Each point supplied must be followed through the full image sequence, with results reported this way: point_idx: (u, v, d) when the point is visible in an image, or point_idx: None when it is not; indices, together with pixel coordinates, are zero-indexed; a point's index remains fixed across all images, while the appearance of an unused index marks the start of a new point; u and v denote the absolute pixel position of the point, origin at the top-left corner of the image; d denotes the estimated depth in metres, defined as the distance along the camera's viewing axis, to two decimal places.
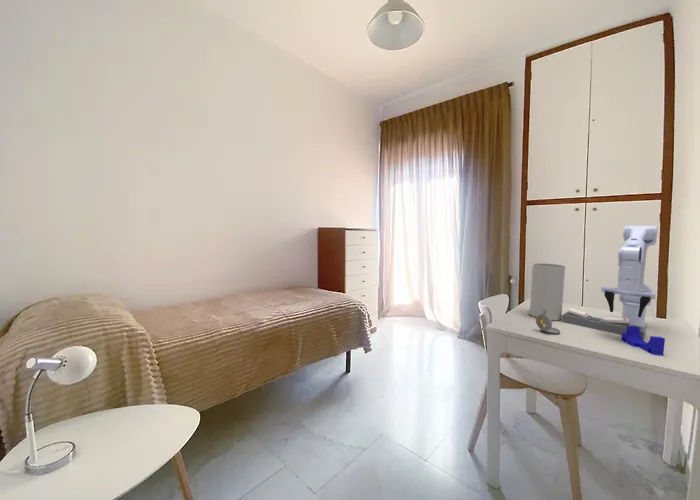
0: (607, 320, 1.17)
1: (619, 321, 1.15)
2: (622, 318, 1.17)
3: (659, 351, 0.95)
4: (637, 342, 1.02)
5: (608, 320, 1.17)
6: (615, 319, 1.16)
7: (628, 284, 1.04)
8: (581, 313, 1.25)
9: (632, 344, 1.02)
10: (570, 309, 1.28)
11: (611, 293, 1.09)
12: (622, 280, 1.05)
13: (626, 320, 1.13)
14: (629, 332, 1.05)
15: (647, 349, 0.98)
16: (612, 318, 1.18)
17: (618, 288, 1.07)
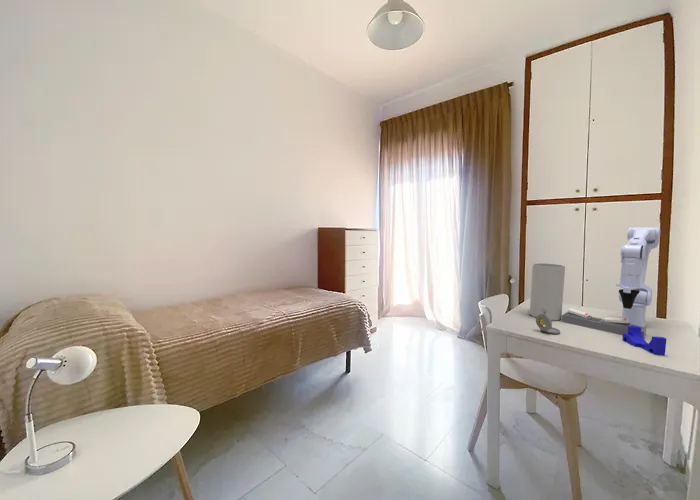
0: (607, 320, 1.17)
1: (619, 321, 1.15)
2: (622, 318, 1.17)
3: (660, 351, 0.95)
4: (638, 342, 1.02)
5: (608, 320, 1.17)
6: (615, 319, 1.16)
7: (620, 278, 1.15)
8: (581, 313, 1.25)
9: (633, 344, 1.02)
10: (570, 309, 1.28)
11: None
12: None
13: (626, 320, 1.13)
14: (630, 332, 1.05)
15: (649, 349, 0.97)
16: (612, 318, 1.18)
17: None
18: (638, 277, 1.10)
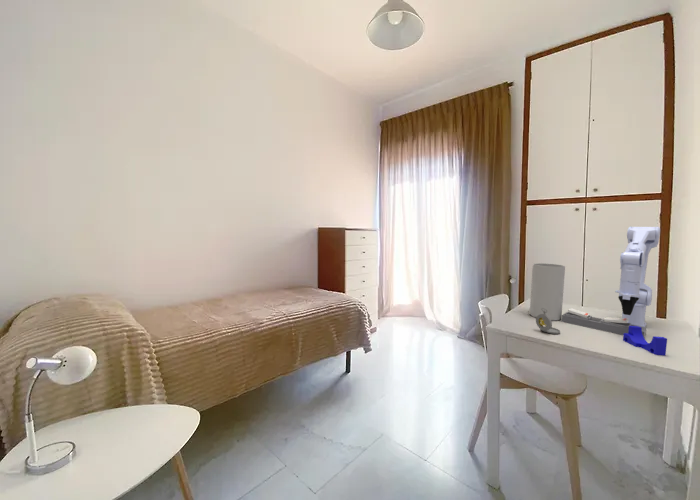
0: (607, 320, 1.17)
1: (619, 321, 1.15)
2: (622, 318, 1.17)
3: (661, 351, 0.95)
4: (639, 342, 1.02)
5: (608, 320, 1.17)
6: (615, 319, 1.16)
7: (620, 284, 1.15)
8: (581, 313, 1.25)
9: (634, 344, 1.02)
10: (570, 309, 1.28)
11: None
12: None
13: (626, 320, 1.13)
14: (631, 332, 1.05)
15: (649, 349, 0.97)
16: (612, 318, 1.18)
17: None
18: (637, 284, 1.10)
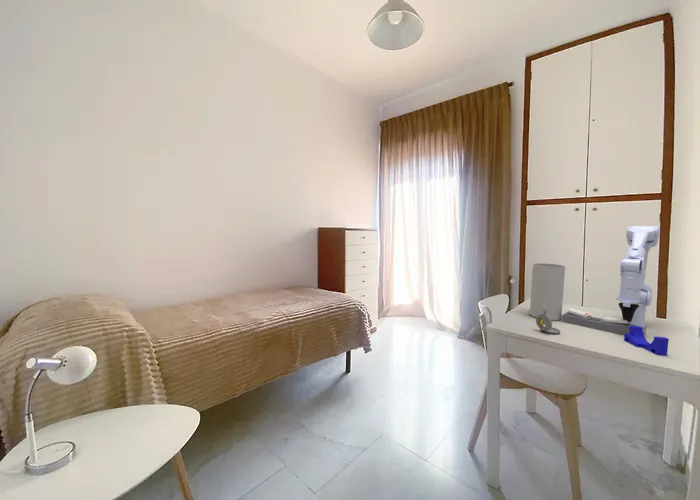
0: (607, 320, 1.17)
1: (619, 321, 1.14)
2: (622, 318, 1.17)
3: (662, 351, 0.95)
4: (640, 342, 1.02)
5: (608, 320, 1.17)
6: (615, 319, 1.16)
7: (620, 291, 1.15)
8: (581, 313, 1.25)
9: (635, 345, 1.02)
10: (570, 309, 1.28)
11: None
12: None
13: (626, 320, 1.13)
14: (632, 332, 1.05)
15: (651, 349, 0.97)
16: (612, 318, 1.18)
17: None
18: (637, 291, 1.10)
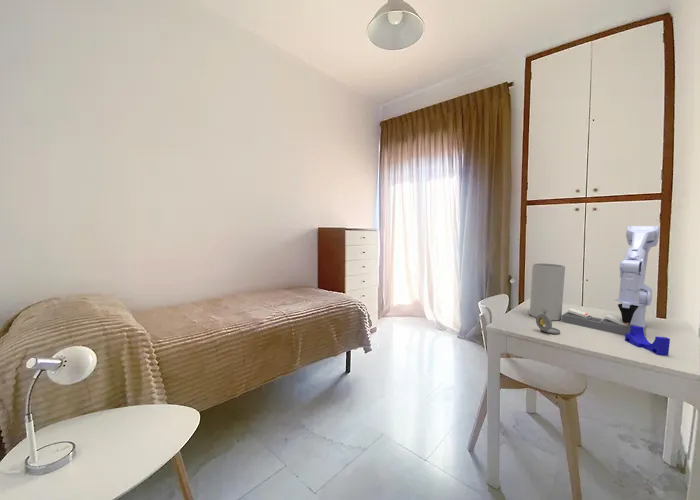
0: (608, 318, 1.17)
1: (620, 323, 1.14)
2: None
3: (664, 351, 0.95)
4: (641, 342, 1.01)
5: (609, 318, 1.17)
6: (617, 319, 1.16)
7: (619, 292, 1.15)
8: (581, 313, 1.25)
9: (636, 345, 1.02)
10: (570, 309, 1.28)
11: None
12: None
13: (627, 324, 1.13)
14: (633, 332, 1.05)
15: (652, 349, 0.97)
16: (614, 317, 1.18)
17: None
18: (637, 292, 1.11)
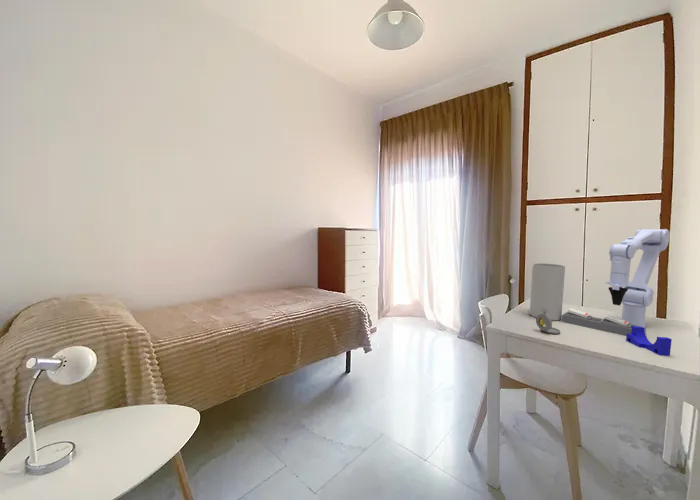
0: (608, 318, 1.17)
1: (620, 322, 1.14)
2: (623, 320, 1.16)
3: (665, 351, 0.94)
4: (643, 343, 1.01)
5: (609, 318, 1.17)
6: (616, 319, 1.16)
7: (610, 276, 1.19)
8: (581, 313, 1.25)
9: (637, 345, 1.02)
10: (570, 309, 1.28)
11: None
12: None
13: (627, 324, 1.13)
14: (634, 332, 1.05)
15: (653, 350, 0.97)
16: (613, 317, 1.18)
17: None
18: (626, 275, 1.15)
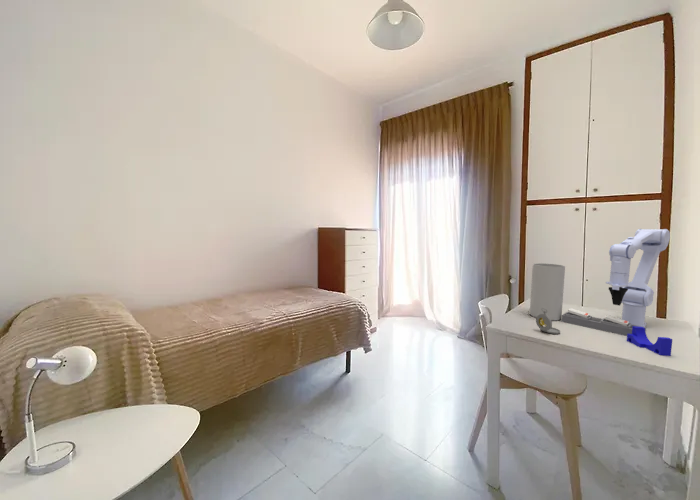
0: (608, 318, 1.17)
1: (619, 322, 1.14)
2: (623, 320, 1.16)
3: (666, 352, 0.94)
4: (643, 343, 1.01)
5: (609, 318, 1.17)
6: (616, 319, 1.16)
7: (610, 276, 1.19)
8: (581, 313, 1.25)
9: (638, 345, 1.02)
10: (570, 309, 1.28)
11: None
12: None
13: (627, 323, 1.13)
14: (635, 333, 1.05)
15: (654, 350, 0.97)
16: (613, 317, 1.18)
17: None
18: (626, 275, 1.15)
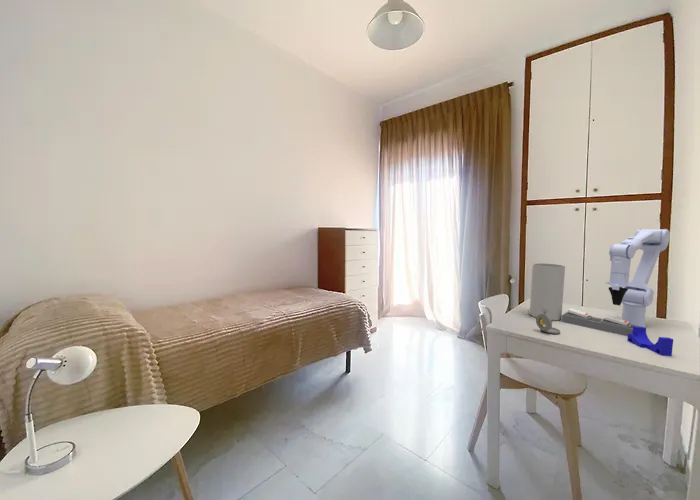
0: (608, 318, 1.17)
1: (619, 322, 1.14)
2: (623, 320, 1.16)
3: (667, 352, 0.94)
4: (644, 343, 1.01)
5: (609, 319, 1.17)
6: (616, 319, 1.16)
7: (610, 276, 1.19)
8: (581, 313, 1.25)
9: (639, 345, 1.02)
10: (570, 309, 1.28)
11: None
12: None
13: (627, 323, 1.13)
14: (635, 333, 1.05)
15: (655, 350, 0.97)
16: (613, 317, 1.18)
17: None
18: (626, 275, 1.15)
